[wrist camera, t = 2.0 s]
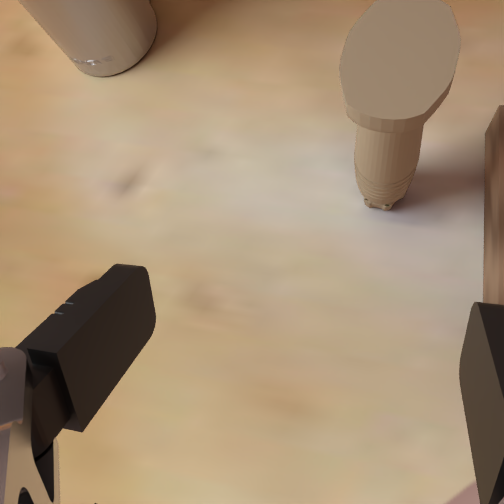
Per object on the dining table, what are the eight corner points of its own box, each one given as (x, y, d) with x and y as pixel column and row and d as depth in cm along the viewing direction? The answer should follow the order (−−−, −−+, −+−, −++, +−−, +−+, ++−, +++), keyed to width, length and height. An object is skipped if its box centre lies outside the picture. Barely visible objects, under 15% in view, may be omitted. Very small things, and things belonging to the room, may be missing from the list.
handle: (338, 225, 34) (325, 110, 20) (359, 148, 35) (360, -10, 21) (405, 239, 32) (442, 127, 18) (424, 159, 34) (472, -3, 20)
